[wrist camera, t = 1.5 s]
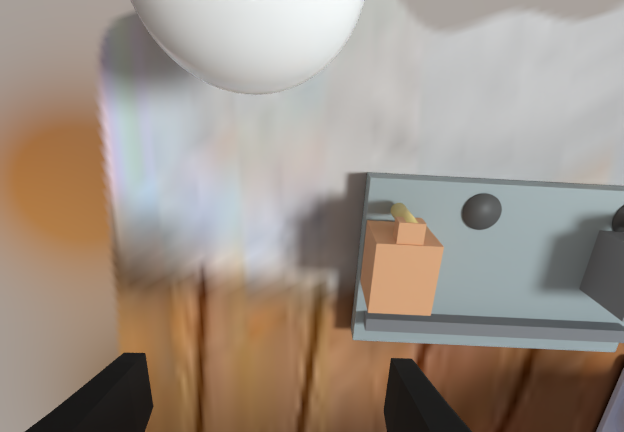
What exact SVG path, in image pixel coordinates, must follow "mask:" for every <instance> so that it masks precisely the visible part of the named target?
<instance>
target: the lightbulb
mask: <svg viewBox="0 0 624 432" xmlns="http://www.w3.org/2000/svg"><path fill="white" fill-rule="evenodd" d="M364 1H365V0H131V2H132V4H133V6H134V8H135V10H136V12H137V14H138V16H139V18H140V19H141V21H142V23H143V24H144V26H145V27H146V29H147V31H148V32H149V33H150V35H151V36H152V37H153V39H154V40H155V41H156V43H157V44H158V45H159V46H160V47H161V49H162V50H163V51H164V52H165V53H166V54H167V55H168V56H169V57H170V58H171V59H172V60H173V61H174V62H176V63H177V64H178V65H179V66H180V67H182V68H183V69H184V70H186V71H187V72H189V73H190V74H192V75H193V76H195V77H196V78H198V79H200V80H202V81H204V82H206V83H208V84H210V85H212V86H215V87H217V88H220V89H223V90H227V91H230V92H235V93H241V94H251V95H262V94H272V93H277V92H281V91H285V90H288V89H291V88H293V87H296V86H298V85H300V84H302V83H304V82H306V81H308V80H309V79H311V78H313V77H314V76H316V75H317V74H318V73H320V72H321V71H322V70H323V69H324V68H325V67H327V66H328V65H329V64H330V63H331V62H332V61H333V60H334V58H335V57H336V56H337V55H338V54H339V53H340V51H341V50H342V49H343V47H344V46H345V44H346V43H347V41H348V39H349V38H350V36H351V34H352V32H353V30H354V28H355V26H356V24H357V22H358V20H359V17H360V14H361V11H362V8H363V5H364Z"/></svg>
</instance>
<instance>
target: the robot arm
mask: <svg viewBox="0 0 624 432" xmlns="http://www.w3.org/2000/svg"><path fill="white" fill-rule="evenodd" d="M152 409H153V402H152V395H151V388H150V382H149V375H148V368H147V362H146V355H145V353H123V354H122V355H121V356H119V357H118V358H117V359H116V360H114V361H113V362H112V363H111V364H109V365H108V366H107V367H106V368H105V369H103V370H102V371H101V372H100V373H99V374H97V375H96V376H95V377H94V378H93V379H91V380H90V381H89V382H88V383H86V384H85V385H84V386H83V387H82V388H80V389H79V390H78V391H77V392H75V393H74V394H73V395H72V396H70V397H69V398H68V399H67V400H65V401H64V402H63V403H62V404H61V405H59V406H58V407H57V408H55V409H54V410H53V411H52V412H50V413H49V414H48V415H46V416H45V417H44V418H42V419H41V420H40V421H38V422H37V423H36V424H34V425H33V426H32V427H30V428H29V429H28V430H26V431H25V432H145V429H146V426H147V424H148V421H149V418H150V415H151V412H152ZM384 415H385V422H386V428H387V432H472V431H471V430H470V429H469V428H468V427H467V425H466V424H465V423H464V422H463V421H462V420H461V418H460V417H459V416H458V415H457V414H456V413H455V411H454V410H453V409H452V408H451V407H450V406H449V404H448V403H447V402H446V401H445V400H444V398H443V397H442V396H441V395H440V393H439V392H438V391H437V390H436V389H435V387H434V386H433V385H432V384H431V382H430V381H429V380H428V378H427V377H426V376H425V375H424V373H423V372H422V371H421V369H420V368H419V367H418V366H417V364H416V363H415V362H414V361H413V360H412V359H403V358H391V363H390V370H389V377H388V384H387V391H386V398H385V405H384ZM596 432H624V368H623V370H622V373H621V375H620V377H619V380H618V382H617V384H616V387H615V389H614V391H613V394H612V396H611V398H610V401H609V403H608V405H607V408H606V410H605V412H604V414H603V417H602V419H601V421H600V424H599V426H598V428H597V431H596Z"/></svg>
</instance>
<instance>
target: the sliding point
mask: <svg viewBox="0 0 624 432" xmlns="http://www.w3.org/2000/svg"><path fill="white" fill-rule="evenodd" d="M391 214H392V216H393V217H394V219H395V222H392V221H373V220H367V225H366V234H365V243H364V252H363V261H362V270H361V279H360V282H361V286H362V290H363V294H364V298H365V302H366V306H367V311H368V313H382V314H402V315H423V316H431V312H432V307H433V302H434V296H435V291H436V286H437V281H438V276H439V271H440V265H441V260H442V255H443V250H444V246H443V245H442V244H441V243H440V242H439V240H438V239H437V238H436V237H435V235H434V234H433V233H432V232H431V231H430V229H429V228H428V227H427V224H426V223H425V221H424V220H423V219H422V218H414V216H413V215H412V214H411V213H410V211H409V210H408V209H407V208H406V206H405V205H404V204H402V203H395V204H394V205H393V206H392V207H391Z"/></svg>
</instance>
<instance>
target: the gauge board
mask: <svg viewBox="0 0 624 432" xmlns="http://www.w3.org/2000/svg"><path fill="white" fill-rule="evenodd" d="M395 203H402V204H404V205H405V206H406V208H407V209H408V210H409V211H410V213H411V214H412V215H413V216H414V218H422V219H423V220H424V221H425V223H426V224H427V227H428V228H429V229H430V231H431V232H432V233H433V234H434V235H435V237H436V238H437V239H438V240H439V242H440V243H441V244H442V245H443V246H444V250H443V255H442V260H441V265H440V271H439V276H438V281H437V286H436V291H435V296H434V302H433V307H432V312H431V316H423V315H402V314H382V313H368V311H367V306H366V302H365V298H364V294H363V290H362V286H361V282H360V279H361V270H362V261H363V252H364V243H365V234H366V225H367V220H373V221H392V222H395V219H394V217H393V216H392V214H391V207H392V206H393V205H394V204H395ZM351 332H352V338H353V340H365V341H386V342H408V343H429V344H450V345H472V346H493V347H514V348H536V349H557V350H579V351H600V352H615V351H616V349H617V346H618V344H619V343H624V186H611V185H592V184H574V183H555V182H536V181H518V180H499V179H480V178H461V177H443V176H424V175H405V174H387V173H368V172H367V181H366V190H365V200H364V209H363V218H362V228H361V237H360V247H359V256H358V265H357V275H356V284H355V293H354V303H353V312H352V321H351Z"/></svg>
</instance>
